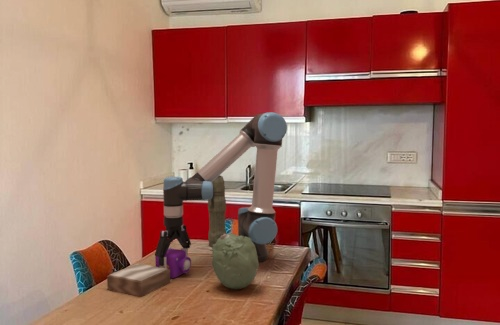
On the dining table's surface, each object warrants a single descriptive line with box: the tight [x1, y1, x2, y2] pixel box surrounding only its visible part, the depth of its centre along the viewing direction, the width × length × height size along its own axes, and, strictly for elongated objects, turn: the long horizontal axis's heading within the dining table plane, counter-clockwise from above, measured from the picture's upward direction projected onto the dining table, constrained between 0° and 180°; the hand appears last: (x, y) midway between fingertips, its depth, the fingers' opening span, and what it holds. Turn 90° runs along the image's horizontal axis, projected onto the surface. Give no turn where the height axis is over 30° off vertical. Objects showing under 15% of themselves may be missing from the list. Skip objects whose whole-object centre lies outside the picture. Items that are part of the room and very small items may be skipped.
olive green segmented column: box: [207, 174, 227, 248], centre depth 217 cm, size 9×12×35 cm
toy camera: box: [154, 246, 192, 279], centre depth 174 cm, size 11×14×10 cm
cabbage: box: [209, 233, 260, 290], centre depth 159 cm, size 16×19×20 cm
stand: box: [106, 262, 171, 298], centre depth 162 cm, size 16×16×5 cm
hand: (174, 268), depth 174 cm, fingers open, 13 cm apart
